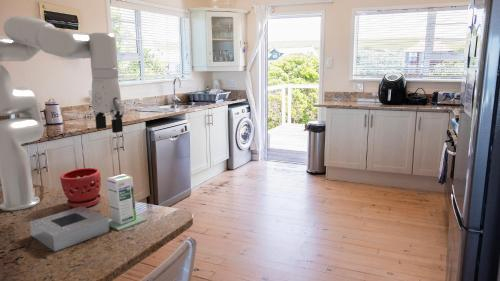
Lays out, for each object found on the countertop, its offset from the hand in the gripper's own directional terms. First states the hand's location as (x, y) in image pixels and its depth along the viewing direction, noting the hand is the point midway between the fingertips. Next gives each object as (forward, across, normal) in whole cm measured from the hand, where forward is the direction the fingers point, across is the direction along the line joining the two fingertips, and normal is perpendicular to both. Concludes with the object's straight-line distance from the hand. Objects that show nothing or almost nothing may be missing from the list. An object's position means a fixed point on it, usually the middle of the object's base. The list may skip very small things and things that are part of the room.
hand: (109, 130), depth 120 cm
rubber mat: (+29, +5, 0) cm, 30 cm away
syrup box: (+29, +4, 0) cm, 29 cm away
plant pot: (+30, -22, 0) cm, 37 cm away
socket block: (+30, 0, -15) cm, 33 cm away
